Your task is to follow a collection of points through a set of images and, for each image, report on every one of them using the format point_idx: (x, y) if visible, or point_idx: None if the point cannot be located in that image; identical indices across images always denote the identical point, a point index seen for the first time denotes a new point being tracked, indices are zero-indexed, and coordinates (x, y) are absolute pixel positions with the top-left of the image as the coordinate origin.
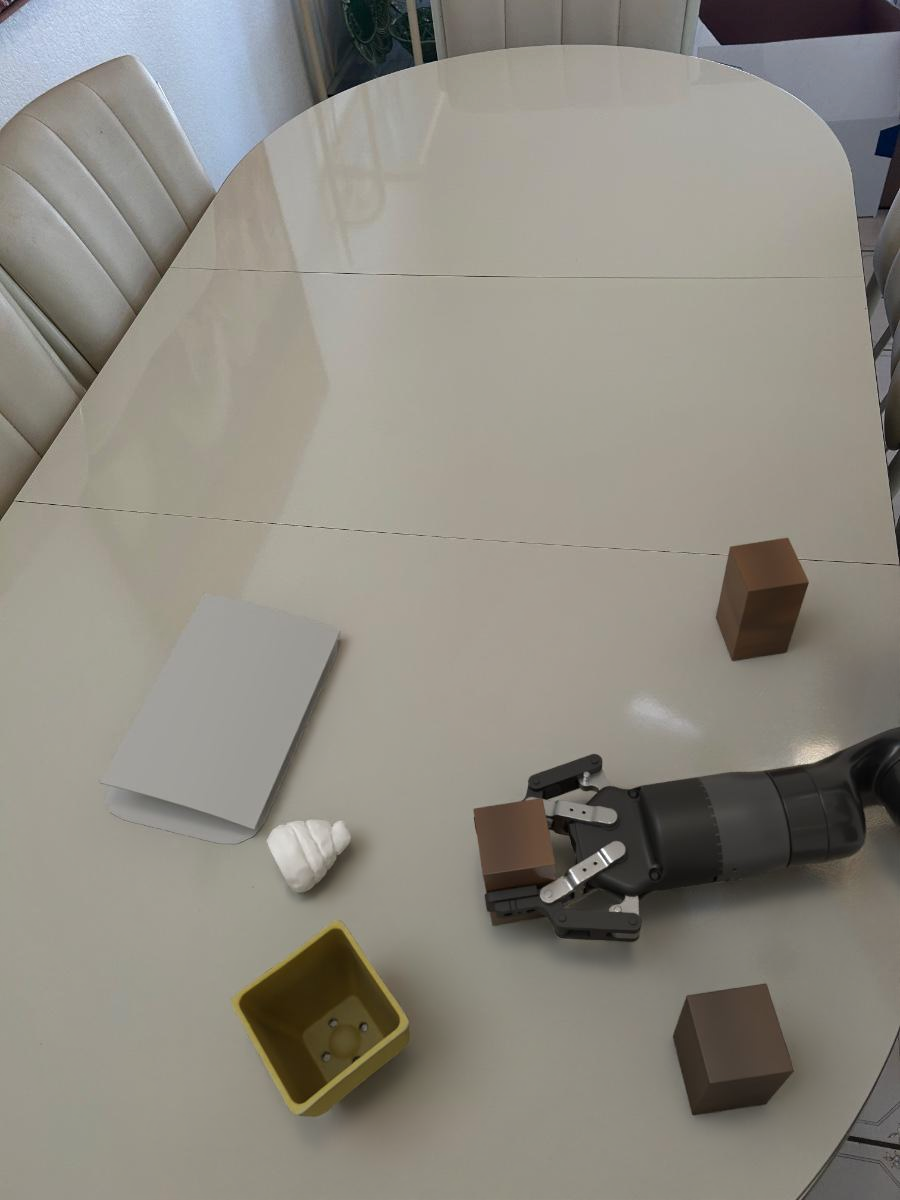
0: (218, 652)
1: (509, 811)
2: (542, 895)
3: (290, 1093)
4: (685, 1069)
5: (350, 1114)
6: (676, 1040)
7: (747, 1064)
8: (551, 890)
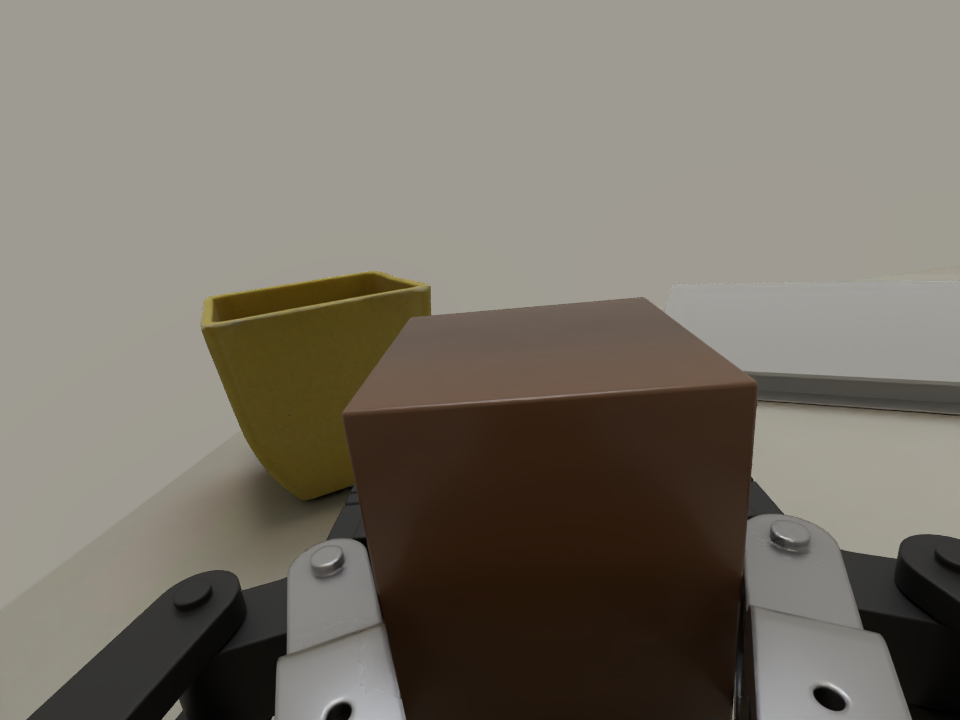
0: (919, 296)
1: (643, 329)
2: (334, 544)
3: (241, 307)
4: None
5: (257, 474)
6: None
7: None
8: (338, 576)
